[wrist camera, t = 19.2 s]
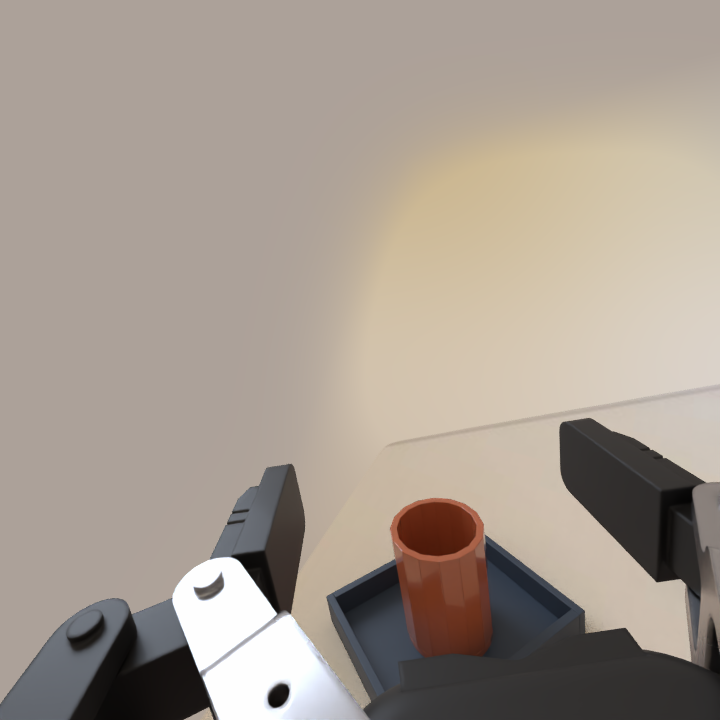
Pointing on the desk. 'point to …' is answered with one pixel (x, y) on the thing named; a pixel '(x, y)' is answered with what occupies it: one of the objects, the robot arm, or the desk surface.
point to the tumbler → (443, 577)
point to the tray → (389, 631)
